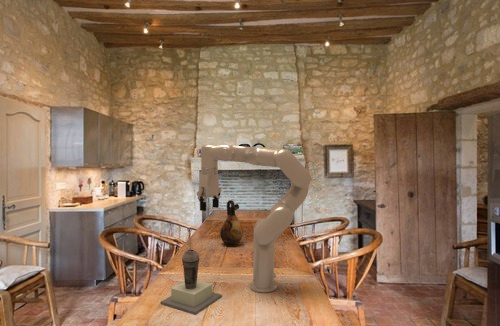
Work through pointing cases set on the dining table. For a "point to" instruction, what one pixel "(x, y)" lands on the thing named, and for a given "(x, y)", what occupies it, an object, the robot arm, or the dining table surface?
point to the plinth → (191, 309)
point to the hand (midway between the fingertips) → (209, 209)
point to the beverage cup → (190, 268)
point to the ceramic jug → (231, 227)
